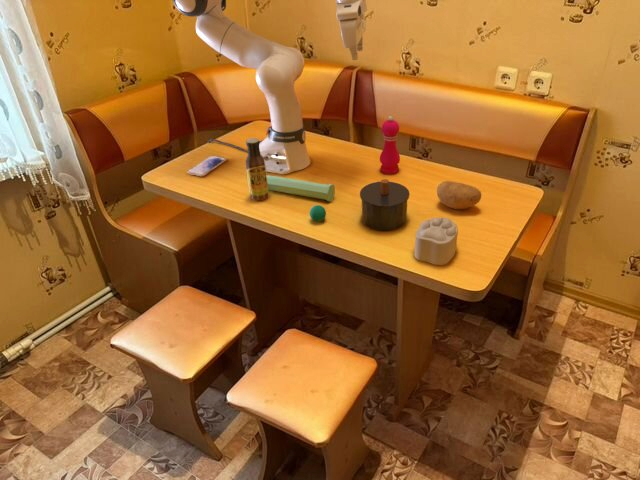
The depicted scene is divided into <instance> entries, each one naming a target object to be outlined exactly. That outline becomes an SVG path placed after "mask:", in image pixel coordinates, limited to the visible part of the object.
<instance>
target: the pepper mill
mask: <svg viewBox="0 0 640 480" xmlns="http://www.w3.org/2000/svg"><path fill="white" fill-rule="evenodd" d="M381 132H382V133H383V134H382V139H383V141H384V145H383V148H382V150H381V153H380V155H379V163H380V171H381V173H383V174H386V175H394V174H396V173H398V172H399V163H400V162H401V156H400V153H399V150H398V148H397V140H398V138H399V137H398V136H399V135H398V133H399V132H400V125H399V123H398V122H397V121H396V120H394V117H393V115H390V116H388V117H387V120H385V121H384V122H383V123H382V125H381Z"/></svg>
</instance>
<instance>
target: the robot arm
mask: <svg viewBox="0 0 640 480" xmlns="http://www.w3.org/2000/svg"><path fill="white" fill-rule="evenodd" d="M172 3H173V5H174V6H175V8H176V9H177V11H179V12H180V14H182V15H184V16H186V17H191V18H195V17H196V21H195V32H196V35H197V36H198V38H200V39H201V40H202V41H203V42H204V43H205V44H207V45H208V46H209V47H210V48H212V49H213V50H214V51H216V52H217V53H219V54H221V55H222V56H223V57H226V58H227V59H229V60H230V61H232V62H234V63H236V64H237V65H239V66H240V67H242V68H248V69H253V70H255V71H256V72H255V82H256V85H257V87H258V88H259V90H260V91H261V92H262V93H263V94H264V97H265V99H266V102H267V105H268V109H269V116H270V123H269V126H268V127H267V130H266V131H265V135H266V137H265V138H264V139H262V140H259V143H260V144H259V149H260V154H261V155H262V157H263V158H264V161H265V166H266V173H273V174H279V175H289V174H290V173H293V172H297V171H298V172H299V171H301V170H303V169H306V168H307V167H309V166H310V165H311V162H312V161H311V158H310V156H309V152H308V149H307V144H306V139H307V137H306V136H307V135H306V130H305V124H304V123H303V111H302V110H303V109H302V104H301V102H300V100H299V99H298V96H297V94H296V90H295V84H296V83H295V82H296V81H297V80H298V79H300V77H301V76H302V74H303V71H304V70H305V69H304V68H305V57H304V55H303V54H302V52H301V51H299V50H298V48H296V47H291V46H286V45H283V44H281V43H278V42H276V41H273V40H270V39H268V38H265V37H262V36H260V35H259V34H257V33H256V32H255V33H254V32H253V31H252V30H250V29H247V28H246V27H245V26H243V25H241V24H240V23H238V22H237V21H235V20H233V19H232V18H230V17H229V16H227V15H226V14H225V13H224V11H226V9H227V0H172ZM335 5H336V6H335V7H336V12H335V16H336V19H337V21H338V22H339V29H340V34H341V39H342V44H343V46H344V48H345V49H349V52H350V55H351V60H352V61H358V60H359V52H362V51H363V50H364V34H365V33H366V19H365V13H366V12H367V11H368V5H367V0H335ZM211 142H216V143H219V144H221V145H225V146H229V147H231V148H235V149H238V150H241V151H242V152H245V153H247V154H248V150H245V149H244V148H242V147H241V146H237V145H235V144H232V143H229V142H225V141H221V140H218V139H215V138H211V139H208V141H207V143H208V144H209V143H211Z"/></svg>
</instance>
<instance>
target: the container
mask: <svg viewBox="0 0 640 480" xmlns="http://www.w3.org/2000/svg"><path fill="white" fill-rule="evenodd" d="M267 184H268V191H272V192H278V193H283V194H290V195H295V196H301V197H307V198H312V199H313V198H314V199H318V200H325V201H327V202H328V203H331V202H332V201H333V200H334V197H335V193H336V188H335V185H334V184H333V183H329V184H326V183H321V182H313V181H309V180H308V181H307V180H303V179H302V180H301V179H296V178H289V177H282V176H277V175H269V174H268V175H267Z"/></svg>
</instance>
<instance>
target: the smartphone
mask: <svg viewBox="0 0 640 480" xmlns="http://www.w3.org/2000/svg"><path fill="white" fill-rule="evenodd" d="M226 161H227V158H226V157H222V156H217V155H214V154H213V155H210V156H208V157H207V158H205V159H204V160H202V161H200V163H198V164H196V165H194V166H193V167H192V168H190V169H189V170H187V174H188V175H191V176H197V177H205V176H206V175H208V174H209V173H210V172H212V171H214V170H215V169H216V168H218V167H219V166H220V165H222V164H223V163H225V162H226Z"/></svg>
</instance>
